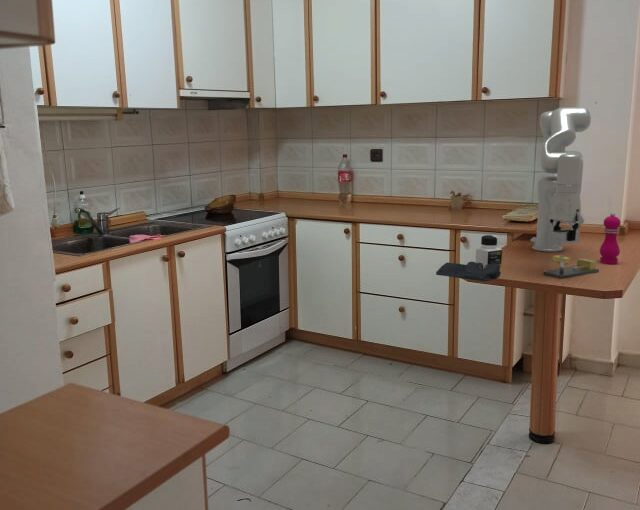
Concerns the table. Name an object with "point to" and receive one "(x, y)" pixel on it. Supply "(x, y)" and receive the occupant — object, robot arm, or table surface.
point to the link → (562, 236)
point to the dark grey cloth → (470, 271)
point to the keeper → (574, 269)
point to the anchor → (561, 259)
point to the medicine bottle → (489, 251)
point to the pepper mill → (610, 240)
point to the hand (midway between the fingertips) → (563, 238)
